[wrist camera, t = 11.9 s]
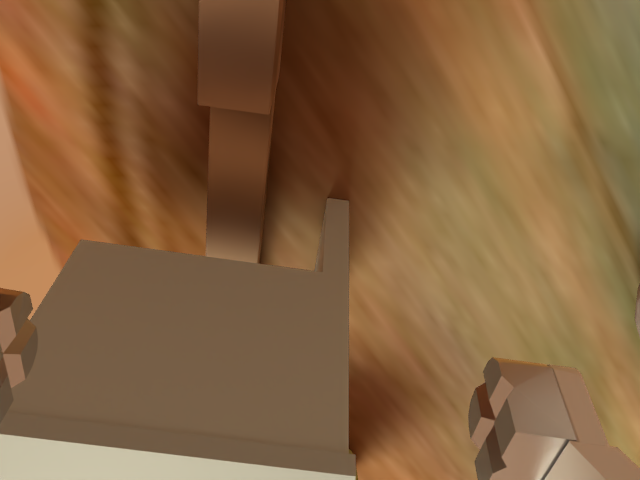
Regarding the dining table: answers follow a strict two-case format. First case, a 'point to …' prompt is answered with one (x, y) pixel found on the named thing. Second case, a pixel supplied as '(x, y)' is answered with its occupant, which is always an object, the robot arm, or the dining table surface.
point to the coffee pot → (638, 310)
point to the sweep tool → (238, 117)
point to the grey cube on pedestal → (188, 368)
